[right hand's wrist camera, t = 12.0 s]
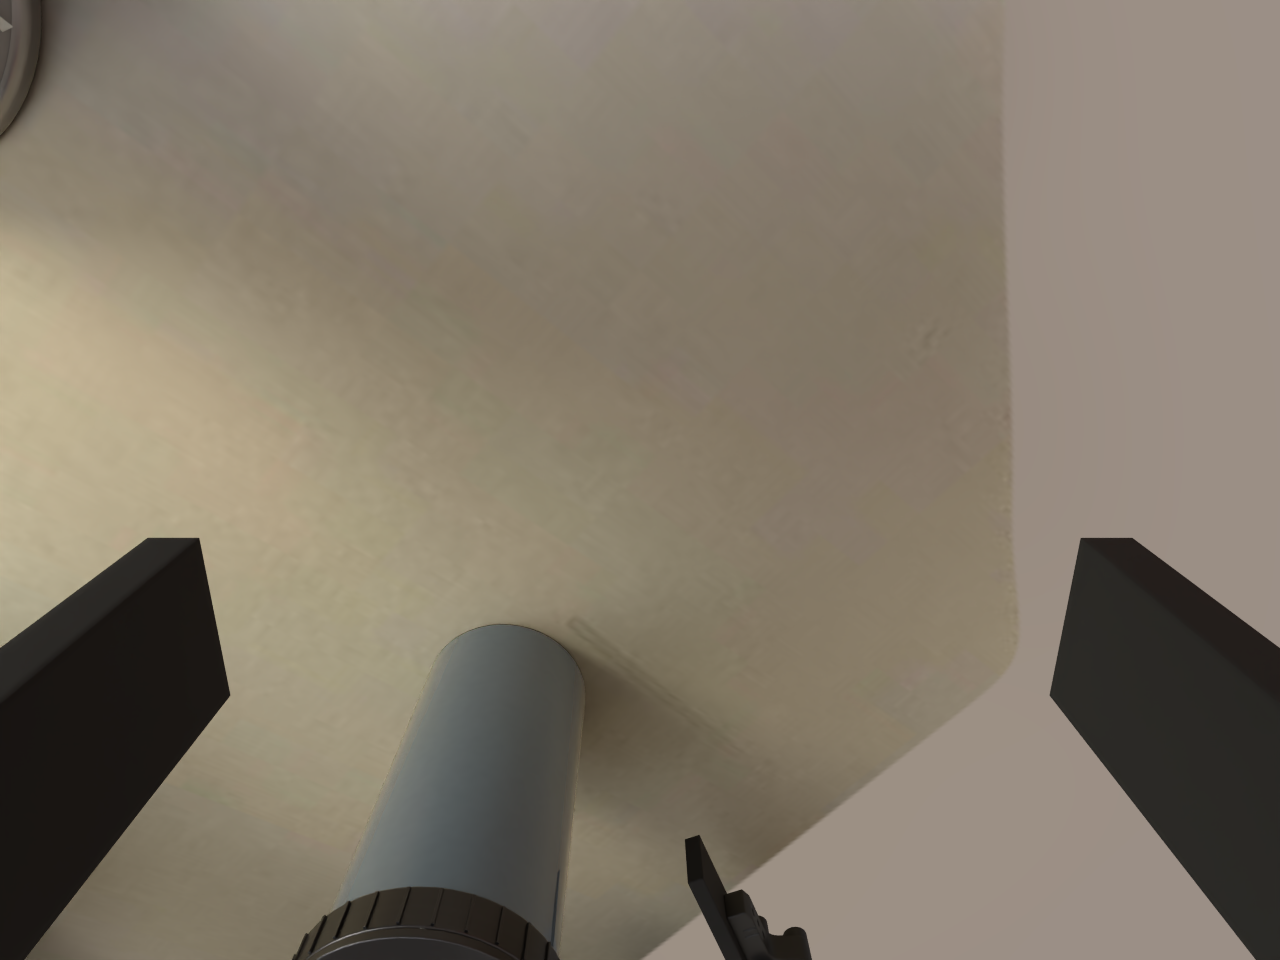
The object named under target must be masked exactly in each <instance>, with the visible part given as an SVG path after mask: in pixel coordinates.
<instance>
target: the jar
mask: <svg viewBox="0 0 1280 960" xmlns="http://www.w3.org/2000/svg"><path fill="white" fill-rule="evenodd" d="M584 708H585V685H584V681H583V677H582V674H581V672H580V670H579V668H578V666H577V664H576V662H575V661H574V659H573V658H572V657H571V655H570V654H569V653H568V652H567V651H566V650H565V649H564V648H563V647H562V646H561V645H560V644H559V643H557V642H556V641H554V640H553V639H551V638H550V637H548V636H546V635H544V634H542V633H540V632H538V631H535V630H533V629H529V628H525V627H522V626H515V625H489V626H484V627H479V628H476V629H473V630H470V631H468V632H466V633H464V634H462V635H460V636H458V637H457V638H455V639H454V640H452V641H451V642H450V643H449V644H448V645H447V646H445V648H444V649H443V650H442V651H441V652H440V653H439V655H438V656H437V658H436V660H435V661H434V663H433V666H432V668H431V670H430V673H429V675H428V677H427V680H426V682H425V685H424V687H423V689H422V692H421V694H420V697H419V699H418V701H417V704H416V706H415V709H414V711H413V714H412V716H411V718H410V721H409V723H408V726H407V728H406V730H405V733H404V735H403V738H402V740H401V742H400V745H399V747H398V750H397V752H396V755H395V757H394V759H393V762H392V764H391V767H390V769H389V771H388V774H387V776H386V779H385V781H384V783H383V786H382V788H381V791H380V793H379V795H378V798H377V800H376V803H375V805H374V808H373V810H372V812H371V815H370V817H369V820H368V822H367V824H366V827H365V829H364V832H363V834H362V836H361V839H360V841H359V844H358V846H357V849H356V851H355V853H354V856H353V858H352V861H351V863H350V865H349V868H348V870H347V873H346V875H345V877H344V880H343V882H342V885H341V887H340V890H339V892H338V894H337V897H336V899H335V902H334V904H333V906H332V909H331V911H330V913H331V912H332V911H334V910H335V909H337V908H339V907H340V906H342V905H344V904H346V902H347V901H352V900H354V899H357V898H359V897H361V896H364V895H368V894H371V893H374V892H375V891H382V890H388V889H394V888H402V887H408V886H410V887H438V888H446V889H454V890H458V891H462V892H467V893H471V894H475V895H477V896H480V897H483V898H486V899H489V900H491V901H493V902H496V903H498V904H500V905H502V906H505V907H506V908H508V909H510V910H511V911H513V912H515V913H516V914H518V915H520V916H521V917H522V918H524V919H525V920H526V921H528V922H530V923H531V925H533V926H534V927H535V928H536V929H537V930H538V931H539V932H540V933H541V934H542V935H543V936H544V937H545V938H546V939H547V941H548V942H549V941H550V942H551V946H552V947H553V949H554V950H555V952H556V954H557V955H558V957H560V947H561V937H562V928H563V918H564V908H565V898H566V888H567V878H568V868H569V858H570V848H571V838H572V828H573V818H574V808H575V798H576V788H577V778H578V768H579V758H580V748H581V738H582V728H583V718H584Z"/></svg>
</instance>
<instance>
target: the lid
mask: <svg viewBox="0 0 1280 960" xmlns="http://www.w3.org/2000/svg"><path fill="white" fill-rule="evenodd" d="M292 960H560V959H559V957H558V955H557V954H556V952H555V950H554V949H553V947H552V946H551V942H550V941H549V942H548V941H547V939H546V938H545V937H544V936H543V935H542V934H541V933H540V932H539V931H538V930H537V929H536V928H535V927H534V926H533V925H531V923H530V922H528V921H526V920H525V919H524V918H522V917H521V916H520V915H518V914H516V913H515V912H513V911H511V910H510V909H508V908H506V907H505V906H502V905H500V904H498V903H496V902H493V901H491V900H489V899H486V898H483V897H480V896H477V895H475V894H471V893H467V892H462V891H458V890H454V889H446V888H438V887H410V886H408V887H402V888H394V889H388V890H382V891H375V892H374V893H371V894H368V895H364V896H361V897H359V898H357V899H354V900H352V901H347V902H346V904H344V905H342V906H340V907H339V908H337V909H335V910H334V911H332V912H331V913H330V914H328V915H327V916H326V915H324V916H323V917H322V919H321V921H320V922H319V923H318V924H317V925H316V926H315V927H314V928H313V929H312V930H311V931H310V933H309V934H307V933H306V934H305V936H304V938H303V940H302V943H301V945H300V947H299V949H298V952H297V954H294V956H293V959H292Z"/></svg>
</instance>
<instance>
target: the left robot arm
mask: <svg viewBox="0 0 1280 960" xmlns="http://www.w3.org/2000/svg"><path fill="white" fill-rule="evenodd" d="M685 847H686V861H687V876H688V884H689V886H690V888H691V890H692V892H693V894H694V896H695V898H696V900H697V903H698V905H699V907H700V909H701V911H702V913H703V915H704V917H705V919H706V921H707V923H708V925H709V927H710V929H711V931H712V933H713V935H714V937H715V939H716V941H717V943H718V946H719V948H720V950H721V952H722V954H723V956H724V958H725V960H812V958H811V954H810V949H809V944H808V940H807V935H806V932H805V931H804V930H803V929H802V928H799V927H791V928H789V929H787V930H786V931H785V932H784V934H783V936H777V935H772V934H769V931H768V925H767V921H766V919H765V918H764V917H762V916H758V914H757V912H756V910H755V908H754V905H753V903H752V901H751V899H750V897H749V895H748V894H747V893H745V892H744V891H743V890H738V891H735V892H732V893H728V894H727V893H726V891H725V889H724V886H723V884H722V882H721V880H720V878H719V876H718V874H717V872H716V869H715V867H714V865H713V863H712V861H711V859H710V857H709V855H708V852H707V850H706V848H705V846H704V844H703V842H702V840H701V838H700V835H698V836H694V837H691V838H688V839H685Z"/></svg>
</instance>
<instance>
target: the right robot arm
mask: <svg viewBox="0 0 1280 960" xmlns="http://www.w3.org/2000/svg"><path fill="white" fill-rule="evenodd" d="M40 41H41V0H0V135H1V134H2V133H3V132H4V131H5V130H6V128H7V127H8V126H9V125H10V124H11V122H12V121H13V119H14V118H15V116H16V115H17V113H18V112H19V110H20V108H21V106H22V104H23V102H24V100H25V98H26V96H27V94H28V91H29V88H30V86H31V83H32V80H33V77H34V73H35V69H36V65H37V61H38V56H39V48H40ZM229 696H230V691H229V686H228V681H227V676H226V671H225V666H224V661H223V656H222V651H221V646H220V641H219V636H218V631H217V626H216V620H215V615H214V610H213V605H212V600H211V595H210V590H209V585H208V580H207V575H206V570H205V565H204V560H203V555H202V550H201V545H200V540H199V538H147V539H146V540H144V541H143V542H142V543H140V544H139V545H138V546H136V547H135V548H134V549H132V550H131V551H130V552H128V553H127V554H126V555H124V556H123V557H122V558H120V559H119V560H118V561H116V562H115V563H114V564H112V565H111V566H110V567H108V568H107V569H106V570H104V571H103V572H102V573H100V574H99V575H97V576H96V577H95V578H93V579H92V580H91V581H89V582H88V583H87V584H85V585H84V586H83V587H81V588H80V589H79V590H77V591H76V592H75V593H73V594H72V595H71V596H69V597H68V598H67V599H65V600H64V601H63V602H61V603H60V604H59V605H57V606H56V607H55V608H53V609H52V610H51V611H49V612H48V613H47V614H45V615H44V616H43V617H41V618H40V619H39V620H37V621H36V622H35V623H33V624H32V625H31V626H29V627H28V628H27V629H25V630H24V631H23V632H21V633H20V634H18V635H17V636H16V637H14V638H13V639H12V640H10V641H9V642H8V643H6V644H5V645H4V646H2V647H1V648H0V960H24V959H25V958H26V957H27V955H28V954H29V953H30V952H31V950H32V949H33V948H34V946H35V945H36V944H37V943H38V941H39V940H40V939H41V937H42V936H43V935H44V934H45V932H46V931H47V930H48V928H49V927H50V926H51V925H52V923H53V922H54V921H55V919H56V918H57V917H58V916H59V914H60V913H61V912H62V911H63V909H64V908H65V907H66V905H67V904H68V903H69V902H70V900H71V899H72V898H73V896H74V895H75V894H76V893H77V891H78V890H79V889H80V887H81V886H82V885H83V884H84V882H85V881H86V880H87V878H88V877H89V876H90V875H91V873H92V872H93V871H94V869H95V868H96V867H97V866H98V864H99V863H100V862H101V861H102V859H103V858H104V857H105V855H106V854H107V853H108V852H109V850H110V849H111V848H112V846H113V845H114V844H115V843H116V841H117V840H118V839H119V837H120V836H121V835H122V834H123V832H124V831H125V830H126V828H127V827H128V826H129V825H130V823H131V822H132V821H133V820H134V818H135V817H136V816H137V814H138V813H139V812H140V811H141V809H142V808H143V807H144V805H145V804H146V803H147V802H148V800H149V799H150V798H151V796H152V795H153V794H154V793H155V791H156V790H157V789H158V787H159V786H160V785H161V784H162V782H163V781H164V780H165V778H166V777H167V776H168V775H169V773H170V772H171V771H172V770H173V768H174V767H175V766H176V764H177V763H178V762H179V761H180V759H181V758H182V757H183V755H184V754H185V753H186V752H187V750H188V749H189V748H190V746H191V745H192V744H193V743H194V741H195V740H196V739H197V737H198V736H199V735H200V734H201V732H202V731H203V730H204V729H205V727H206V726H207V725H208V723H209V722H210V721H211V720H212V718H213V717H214V716H215V714H216V713H217V712H218V711H219V709H220V708H221V707H222V705H223V704H224V703H225V702H226V700H227V699H228V698H229ZM1050 696H1051V698H1052V699H1053V700H1054V702H1055V703H1056V704H1057V705H1058V707H1059V708H1060V709H1061V710H1062V712H1063V713H1064V714H1065V716H1066V717H1067V718H1068V720H1069V721H1070V722H1071V723H1072V725H1073V726H1074V727H1075V729H1076V730H1077V731H1078V732H1079V734H1080V735H1081V736H1082V737H1083V739H1084V740H1085V741H1086V743H1087V744H1088V745H1089V746H1090V748H1091V749H1092V750H1093V752H1094V753H1095V754H1096V755H1097V757H1098V758H1099V759H1100V761H1101V762H1102V763H1103V764H1104V766H1105V767H1106V768H1107V770H1108V771H1109V772H1110V773H1111V775H1112V776H1113V777H1114V778H1115V780H1116V781H1117V782H1118V784H1119V785H1120V786H1121V787H1122V789H1123V790H1124V791H1125V793H1126V794H1127V795H1128V796H1129V798H1130V799H1131V800H1132V802H1133V803H1134V804H1135V805H1136V807H1137V808H1138V809H1139V811H1140V812H1141V813H1142V814H1143V816H1144V817H1145V818H1146V820H1147V821H1148V822H1149V823H1150V825H1151V826H1152V827H1153V828H1154V830H1155V831H1156V832H1157V834H1158V835H1159V836H1160V837H1161V839H1162V840H1163V841H1164V843H1165V844H1166V845H1167V846H1168V848H1169V849H1170V850H1171V852H1172V853H1173V854H1174V855H1175V857H1176V858H1177V859H1178V860H1179V862H1180V863H1181V864H1182V866H1183V867H1184V868H1185V869H1186V871H1187V872H1188V873H1189V875H1190V876H1191V877H1192V878H1193V880H1194V881H1195V882H1196V884H1197V885H1198V886H1199V887H1200V889H1201V890H1202V891H1203V893H1204V894H1205V895H1206V896H1207V898H1208V899H1209V900H1210V902H1211V903H1212V904H1213V905H1214V907H1215V908H1216V909H1217V910H1218V912H1219V913H1220V914H1221V916H1222V917H1223V918H1224V919H1225V921H1226V922H1227V923H1228V925H1229V926H1230V927H1231V928H1232V930H1233V931H1234V932H1235V934H1236V935H1237V936H1238V937H1239V939H1240V940H1241V941H1242V942H1243V944H1244V945H1245V946H1246V948H1247V949H1248V950H1249V951H1250V953H1251V954H1252V955H1253V957H1254V958H1255V959H1256V960H1280V648H1279V647H1278V646H1276V645H1275V644H1274V643H1272V642H1271V641H1269V640H1268V639H1267V638H1265V637H1264V636H1263V635H1262V634H1260V633H1259V632H1257V631H1256V630H1255V629H1253V628H1252V627H1251V626H1249V625H1248V624H1247V623H1245V622H1244V621H1243V620H1241V619H1240V618H1239V617H1237V616H1236V615H1235V614H1233V613H1232V612H1231V611H1229V610H1228V609H1227V608H1225V607H1224V606H1223V605H1221V604H1220V603H1219V602H1217V601H1216V600H1215V599H1213V598H1212V597H1211V596H1209V595H1208V594H1207V593H1205V592H1204V591H1203V590H1201V589H1200V588H1199V587H1197V586H1196V585H1195V584H1193V583H1192V582H1191V581H1189V580H1188V579H1187V578H1185V577H1184V576H1183V575H1181V574H1180V573H1178V572H1177V571H1176V570H1174V569H1173V568H1172V567H1170V566H1169V565H1168V564H1166V563H1165V562H1164V561H1162V560H1161V559H1160V558H1158V557H1157V556H1156V555H1154V554H1153V553H1152V552H1150V551H1149V550H1148V549H1146V548H1145V547H1144V546H1142V545H1141V544H1140V543H1138V542H1137V541H1136V540H1134V539H1133V538H1081V540H1080V545H1079V550H1078V555H1077V560H1076V565H1075V570H1074V575H1073V580H1072V585H1071V590H1070V595H1069V600H1068V605H1067V610H1066V616H1065V620H1064V626H1063V631H1062V636H1061V641H1060V646H1059V651H1058V656H1057V661H1056V666H1055V671H1054V676H1053V681H1052V686H1051V691H1050Z"/></svg>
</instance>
